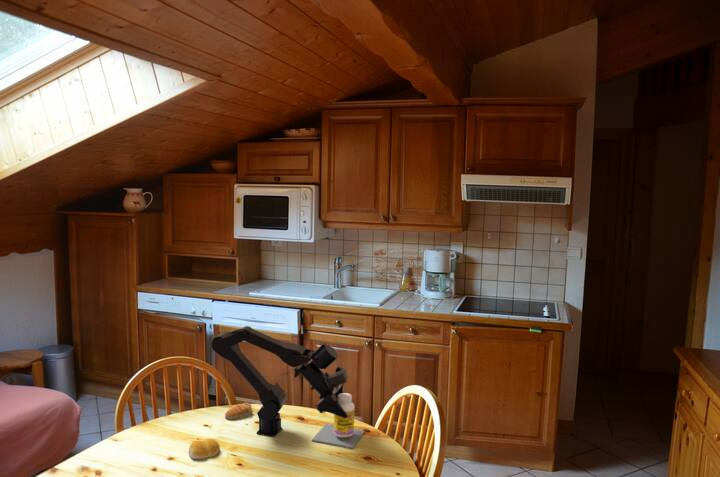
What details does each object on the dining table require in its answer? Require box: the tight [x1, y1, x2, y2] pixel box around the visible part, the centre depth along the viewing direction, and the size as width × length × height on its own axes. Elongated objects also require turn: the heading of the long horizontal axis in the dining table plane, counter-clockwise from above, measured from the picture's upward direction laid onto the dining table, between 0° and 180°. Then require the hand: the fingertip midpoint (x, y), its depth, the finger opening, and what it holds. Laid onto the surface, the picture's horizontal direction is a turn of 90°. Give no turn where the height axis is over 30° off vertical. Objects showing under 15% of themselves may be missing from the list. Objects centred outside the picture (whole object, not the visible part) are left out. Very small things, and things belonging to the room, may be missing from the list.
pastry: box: [224, 402, 254, 420], centre depth 186 cm, size 9×7×4 cm
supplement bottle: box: [333, 392, 355, 437], centre depth 170 cm, size 7×7×13 cm
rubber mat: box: [311, 423, 366, 450], centre depth 171 cm, size 14×12×1 cm
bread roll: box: [187, 438, 220, 460], centre depth 160 cm, size 8×9×4 cm
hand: (348, 412), depth 170 cm, fingers closed on supplement bottle, 7 cm apart
